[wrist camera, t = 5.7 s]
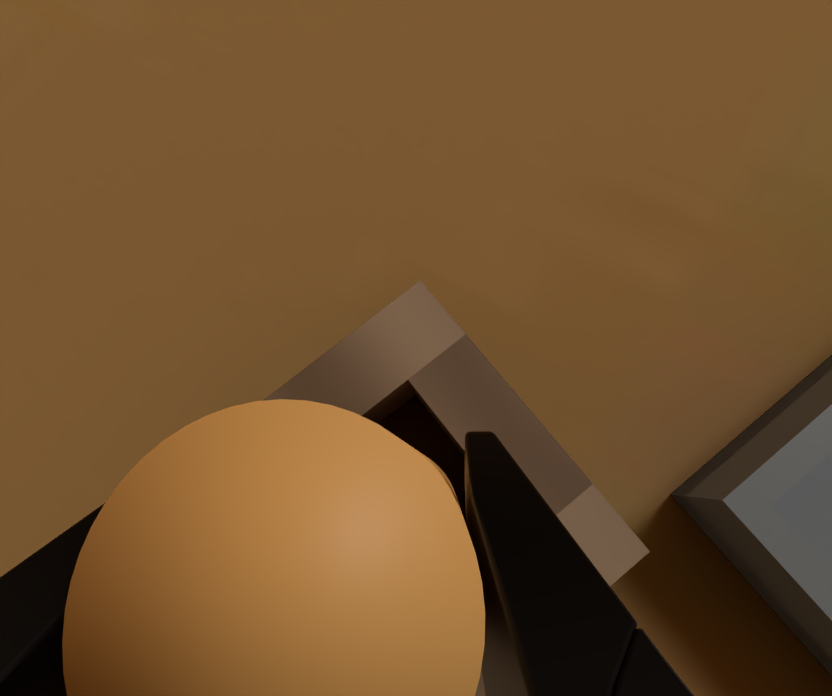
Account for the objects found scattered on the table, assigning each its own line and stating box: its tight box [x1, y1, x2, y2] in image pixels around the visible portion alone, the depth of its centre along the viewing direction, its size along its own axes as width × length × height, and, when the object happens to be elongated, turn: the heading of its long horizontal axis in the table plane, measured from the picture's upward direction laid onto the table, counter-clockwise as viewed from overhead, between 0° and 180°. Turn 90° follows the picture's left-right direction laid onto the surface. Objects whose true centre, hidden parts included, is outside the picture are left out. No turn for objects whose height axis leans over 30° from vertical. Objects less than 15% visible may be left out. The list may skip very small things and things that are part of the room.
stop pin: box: [62, 399, 485, 696], centre depth 9 cm, size 4×4×10 cm
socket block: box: [263, 281, 650, 696], centre depth 14 cm, size 9×9×3 cm
